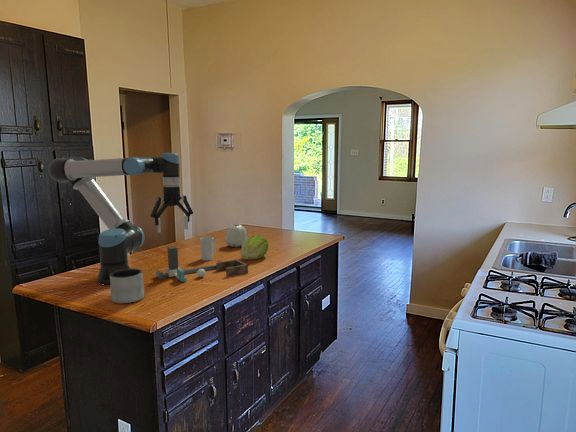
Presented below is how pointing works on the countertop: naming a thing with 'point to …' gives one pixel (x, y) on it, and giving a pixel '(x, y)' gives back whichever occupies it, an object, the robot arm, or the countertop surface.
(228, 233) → the vase
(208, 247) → the mug
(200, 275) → the ball
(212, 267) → the rail
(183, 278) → the carriage
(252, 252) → the lettuce
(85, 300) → the countertop surface
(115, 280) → the planter
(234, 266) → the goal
